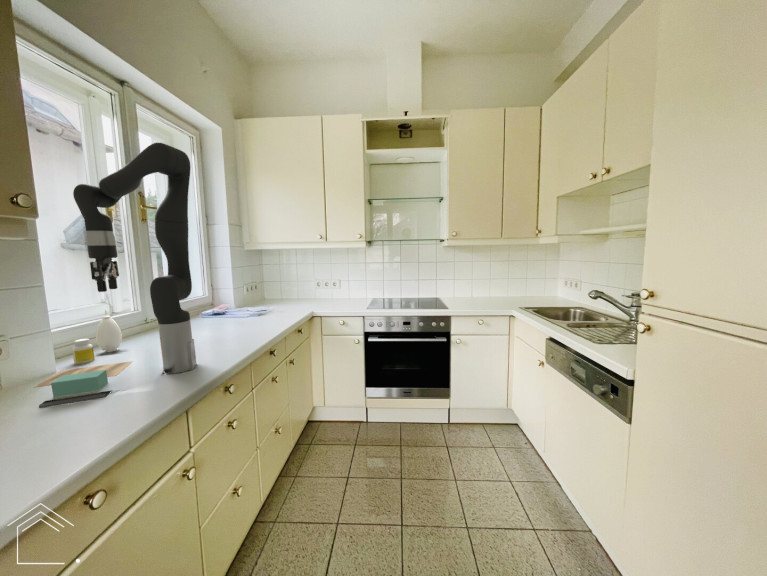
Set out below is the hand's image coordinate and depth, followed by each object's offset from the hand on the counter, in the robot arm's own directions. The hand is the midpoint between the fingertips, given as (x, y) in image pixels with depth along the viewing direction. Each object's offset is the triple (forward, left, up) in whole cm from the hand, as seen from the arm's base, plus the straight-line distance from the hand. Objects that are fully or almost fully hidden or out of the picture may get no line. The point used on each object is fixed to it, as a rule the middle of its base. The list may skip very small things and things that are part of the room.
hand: (108, 290), depth 108 cm
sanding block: (0, +25, -27) cm, 37 cm away
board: (+5, +9, -28) cm, 30 cm away
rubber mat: (0, +25, -28) cm, 38 cm away
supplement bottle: (+12, -6, -28) cm, 31 cm away
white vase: (+10, -22, -28) cm, 37 cm away
